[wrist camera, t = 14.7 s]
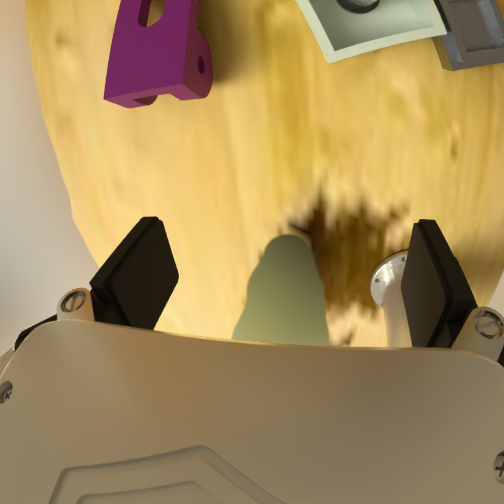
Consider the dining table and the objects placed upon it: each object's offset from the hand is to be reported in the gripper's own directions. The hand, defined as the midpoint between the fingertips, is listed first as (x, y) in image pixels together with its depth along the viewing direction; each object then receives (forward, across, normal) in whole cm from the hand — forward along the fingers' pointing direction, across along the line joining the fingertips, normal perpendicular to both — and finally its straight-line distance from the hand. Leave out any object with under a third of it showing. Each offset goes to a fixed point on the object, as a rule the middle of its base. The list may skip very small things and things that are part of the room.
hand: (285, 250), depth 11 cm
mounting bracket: (+29, +15, -12) cm, 35 cm away
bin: (+28, -7, -14) cm, 32 cm away
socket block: (+28, -20, -13) cm, 37 cm away
